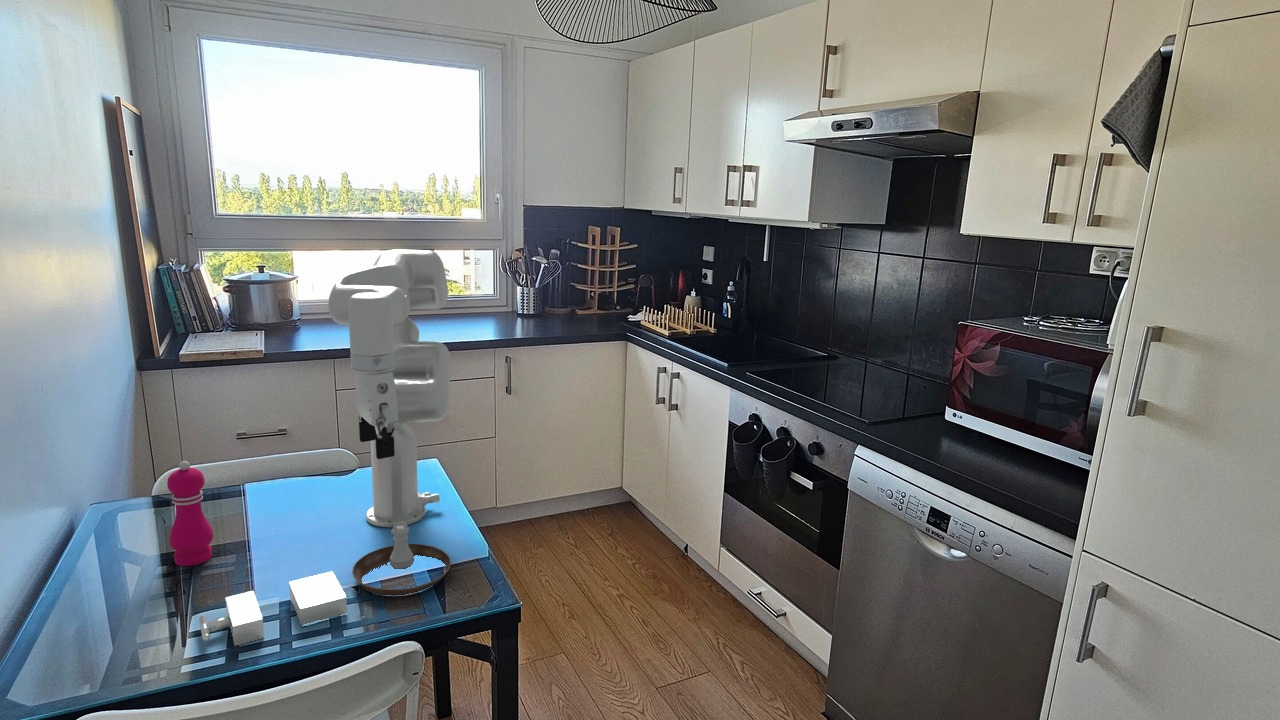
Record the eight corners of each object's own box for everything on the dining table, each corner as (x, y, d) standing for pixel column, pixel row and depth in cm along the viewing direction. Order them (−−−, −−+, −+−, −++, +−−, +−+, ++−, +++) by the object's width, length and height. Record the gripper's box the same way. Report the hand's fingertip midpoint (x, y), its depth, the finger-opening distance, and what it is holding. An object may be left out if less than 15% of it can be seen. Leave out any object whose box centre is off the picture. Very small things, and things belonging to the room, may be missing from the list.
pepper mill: (195, 570, 137) (185, 470, 133) (162, 564, 139) (151, 465, 134) (223, 552, 144) (215, 456, 140) (192, 547, 146) (182, 452, 141)
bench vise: (333, 588, 133) (332, 571, 132) (347, 615, 125) (346, 596, 124) (198, 623, 121) (196, 604, 120) (204, 654, 113) (202, 634, 112)
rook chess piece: (391, 558, 139) (389, 520, 137) (415, 557, 140) (413, 519, 138) (388, 571, 135) (385, 532, 133) (413, 569, 136) (411, 530, 134)
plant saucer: (447, 552, 149) (447, 538, 148) (454, 597, 133) (454, 582, 132) (355, 562, 144) (354, 548, 143) (350, 610, 127) (349, 594, 127)
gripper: (410, 369, 129) (413, 460, 133) (378, 348, 142) (381, 431, 146) (366, 375, 124) (371, 468, 129) (338, 352, 137) (342, 438, 142)
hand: (376, 448), depth 137 cm, fingers open, 9 cm apart
